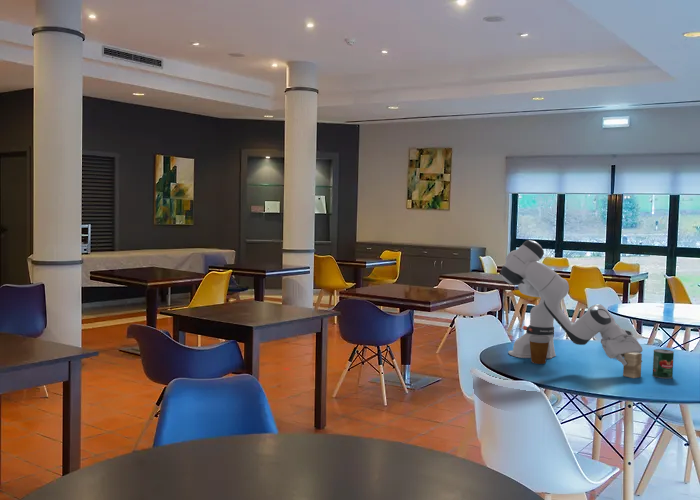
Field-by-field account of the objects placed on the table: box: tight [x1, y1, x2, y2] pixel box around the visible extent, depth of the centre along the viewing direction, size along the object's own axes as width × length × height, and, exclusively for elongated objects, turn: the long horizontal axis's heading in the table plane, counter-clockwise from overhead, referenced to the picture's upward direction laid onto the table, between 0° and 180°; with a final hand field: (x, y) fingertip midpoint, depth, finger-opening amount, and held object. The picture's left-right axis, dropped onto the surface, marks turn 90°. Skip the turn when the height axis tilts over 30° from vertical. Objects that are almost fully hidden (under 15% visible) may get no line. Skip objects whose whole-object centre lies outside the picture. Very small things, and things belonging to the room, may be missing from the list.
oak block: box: [622, 352, 643, 379], centre depth 293 cm, size 5×5×10 cm
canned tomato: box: [652, 348, 675, 380], centre depth 295 cm, size 8×8×11 cm
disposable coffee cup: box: [529, 335, 550, 365], centre depth 318 cm, size 10×10×12 cm
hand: (633, 363), depth 293 cm, fingers open, 8 cm apart
